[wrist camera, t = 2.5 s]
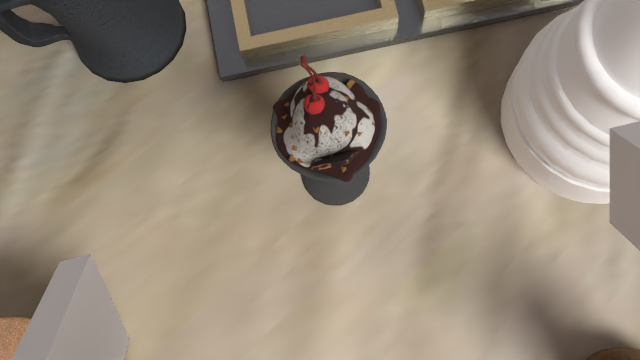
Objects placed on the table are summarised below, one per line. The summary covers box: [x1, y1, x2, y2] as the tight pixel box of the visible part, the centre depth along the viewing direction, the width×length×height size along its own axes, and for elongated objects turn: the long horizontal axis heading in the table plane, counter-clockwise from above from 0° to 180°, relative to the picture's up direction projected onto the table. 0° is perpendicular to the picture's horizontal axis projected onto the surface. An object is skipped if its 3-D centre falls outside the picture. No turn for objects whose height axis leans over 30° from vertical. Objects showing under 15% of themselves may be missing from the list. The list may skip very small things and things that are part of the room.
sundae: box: [271, 55, 387, 205], centre depth 38 cm, size 7×7×15 cm
